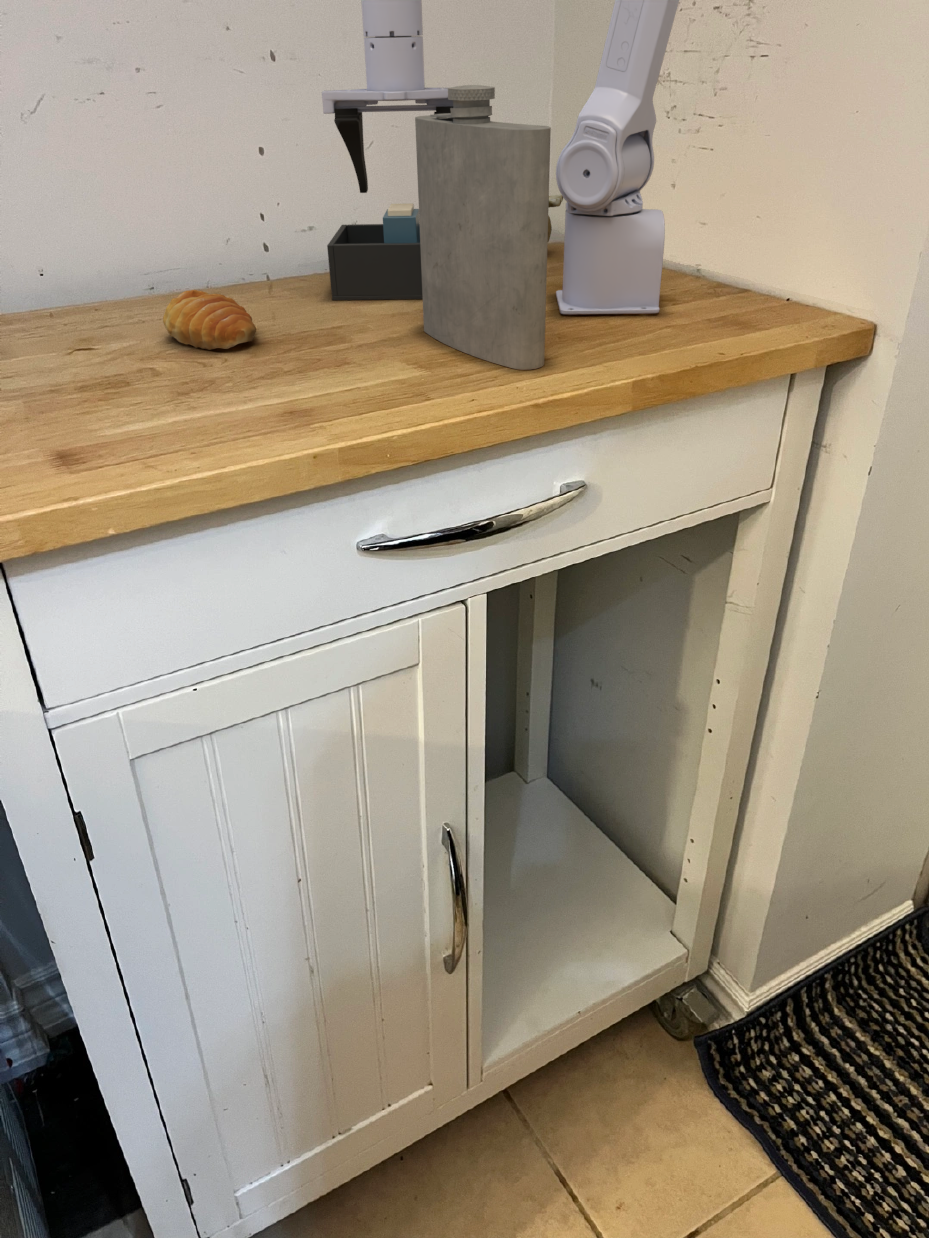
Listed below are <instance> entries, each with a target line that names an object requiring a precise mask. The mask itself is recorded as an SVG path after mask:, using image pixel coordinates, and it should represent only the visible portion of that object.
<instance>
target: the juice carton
mask: <svg viewBox="0 0 929 1238" xmlns="http://www.w3.org/2000/svg"><path fill="white" fill-rule="evenodd" d="M382 224H383V232H384V243H420V223H419V208H415V203H391V204H390V205H389V207H388V208H387V209H386V211H385V212H384V215H383V216H382Z"/></svg>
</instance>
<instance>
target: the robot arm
mask: <svg viewBox="0 0 929 1238" xmlns="http://www.w3.org/2000/svg"><path fill="white" fill-rule="evenodd" d="M360 1H361V2H360V3H361V17H362V33H363V50H364V63H365V79H366V88H356V89H333V90H331V89H330V90H329V89H328V90H327V89H325V90H322V91H321V100H322V111H323V115H325V114H326V115H327V114H329V115H330V114H334V119H333V121H334V124H335V127H336V128H337V130H338V132H339V135H340V137H341V139H342V141H343V143H344V145H345V147H346V150H347V152H348V154H349V156H350V159H351V162H352V165H353V168H354V171H355V175H356V178H357V183H358V188H359V193H360V194H367V193H368V191H369V182H368V180H369V179H368V173H367V166H366V159H365V158H366V157H365V147H364V146H365V144H364V124H363V123H364V122H363V113H383V112H389V113H390V112H427V111H429V112H432V111H433V114H445V113H447V114H448V113H451V111H450V108H453V100H448V88H449V87H426V85H425V84H426V83H425V59H424V57H425V56H424V55H425V54H424V29H423V28H424V27H423V0H360ZM679 2H680V0H614V4H613V8H612V12H611V16H610V21H609V25H608V29H607V34H606V38H605V42H604V47H603V51H602V55H601V59H600V64H599V68H598V72H597V76H596V81H595V85H594V89H593V90H592V92H591V94H590V96H589V97H588V99H587V100H586V102H585V104H584V105H583V107H582V109H581V110H580V111H579V114H578V116H577V119H576V124H575V127H574V131H573V133H572V136H571V137H570V139H569V141H568V142H567V143H566V144H565V146H564V147H563V148H562V149H561V151H560V154H559V156H558V159H557V162H556V166H555V180H556V185H557V188H558V190H559V192H560V194H561V195H562V196H563V200H564V201H565V213H564V214H565V215H564V241H563V243H564V244H563V267H562V289H559V290H558V289H557V290H556V291H555V297H556V301H557V306H558V309H559V313H560V314H561V315H565V316H567V315H635V314H636V315H638V314H640V315H641V314H644V315H645V314H648V315H650V314H651V315H652V314H659V313H660V297H661V284H662V275H663V274H662V273H663V263H664V255H665V253H664V252H665V240H666V239H665V237H666V225H665V224H666V223H665V221H666V220H665V215H664V212H663V210H662V209H656V208H654V209H653V208H651V209H649V208H643V206H644V201H643V197H642V194H641V190H643V189H644V188H645V187H646V185H647V184H648V182H649V181H650V179H651V177H652V175H653V172H654V166H655V152H654V147H653V136H654V132H655V128H656V124H657V115H656V110H655V105H654V95H655V92H656V89H657V84H658V81H659V76H660V73H661V69H662V65H663V61H664V58H665V56H666V55H665V54H666V51H667V47H668V43H669V39H670V36H671V32H672V29H673V25H674V21H675V18H676V13H677V10H678V8H679V7H678V6H679ZM402 101H403V102H405V101H406V102H407V101H414V102H415V104H400V105H399V104H396V105H395V104H394V105H392V104H391V105H378V104H379V102H402Z"/></svg>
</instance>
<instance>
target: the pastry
mask: <svg viewBox="0 0 929 1238" xmlns="http://www.w3.org/2000/svg"><path fill="white" fill-rule="evenodd" d="M162 323H163V326H164V328H165V329H166V331H167V333H168V334H169V336H170V338H174V339H175V340H176V341H177V342H179V343H181V344H183V345H191V346H193V347H194V348H195V349H197V348H200V349H201V350H204V349H205V350H209V351H212V350H215V349H224V350H229V349H230V348H233V347H235V346H237V345H239V344H243V343H247V342H253V341H254V338H255V335H256V333H257V329H258V328H257V327H256V325H255V323H254V322H253V318H252V316H251V315H250V313H249V312H247V310H246V308H245V307H244V306H242V305H240V304H238V302H237V301H235V299H234V298H233V297H227V296H226V295H224V294H221V293H209V292H207V291H203V290H197V289H191V290H185V291H183V292H181V293H180V294H178V295H177V297H173V298H171V299H170V302H169V303H168V304H167V305H166V308H165V311H164V313H163V316H162Z"/></svg>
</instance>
